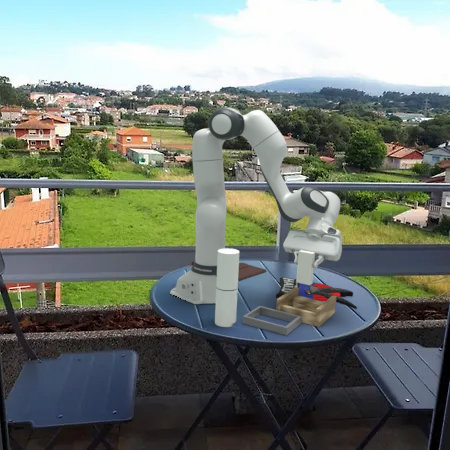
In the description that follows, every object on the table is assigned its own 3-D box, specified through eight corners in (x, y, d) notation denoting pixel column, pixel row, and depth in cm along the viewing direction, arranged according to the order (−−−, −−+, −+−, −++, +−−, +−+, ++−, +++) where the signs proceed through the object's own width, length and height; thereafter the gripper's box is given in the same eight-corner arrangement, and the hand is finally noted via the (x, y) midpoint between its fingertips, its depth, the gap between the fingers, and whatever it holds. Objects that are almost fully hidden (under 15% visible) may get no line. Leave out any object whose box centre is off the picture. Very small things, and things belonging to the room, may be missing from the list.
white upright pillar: (296, 282, 166) (298, 251, 164) (298, 280, 168) (301, 249, 166) (309, 285, 163) (312, 253, 161) (312, 283, 165) (315, 252, 163)
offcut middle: (293, 306, 173) (293, 303, 173) (297, 303, 177) (297, 299, 176) (320, 312, 169) (320, 308, 168) (323, 309, 172) (323, 305, 172)
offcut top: (293, 302, 173) (293, 298, 173) (298, 299, 177) (298, 295, 176) (319, 309, 168) (319, 305, 168) (323, 306, 171) (324, 302, 171)
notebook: (266, 273, 222) (266, 268, 222) (239, 282, 208) (239, 277, 207) (241, 265, 232) (241, 262, 232) (213, 274, 217) (213, 269, 217)
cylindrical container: (210, 322, 163) (213, 250, 158) (224, 316, 168) (227, 247, 163) (226, 329, 158) (229, 255, 153) (240, 323, 163) (243, 251, 158)
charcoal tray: (242, 326, 161) (242, 316, 160) (258, 315, 171) (259, 305, 170) (286, 338, 153) (287, 328, 152) (301, 326, 163) (301, 316, 162)
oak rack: (275, 318, 169) (276, 299, 167) (293, 304, 182) (295, 287, 181) (319, 329, 161) (320, 309, 159) (334, 314, 174) (336, 296, 173)
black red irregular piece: (274, 304, 183) (355, 314, 178) (275, 295, 182) (357, 305, 177) (279, 283, 208) (350, 292, 203) (280, 275, 207) (351, 283, 202)
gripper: (288, 223, 173) (275, 254, 167) (344, 231, 163) (332, 266, 157) (292, 233, 178) (279, 264, 171) (347, 242, 167) (335, 276, 161)
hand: (305, 265), depth 164 cm, fingers closed on white upright pillar, 5 cm apart
